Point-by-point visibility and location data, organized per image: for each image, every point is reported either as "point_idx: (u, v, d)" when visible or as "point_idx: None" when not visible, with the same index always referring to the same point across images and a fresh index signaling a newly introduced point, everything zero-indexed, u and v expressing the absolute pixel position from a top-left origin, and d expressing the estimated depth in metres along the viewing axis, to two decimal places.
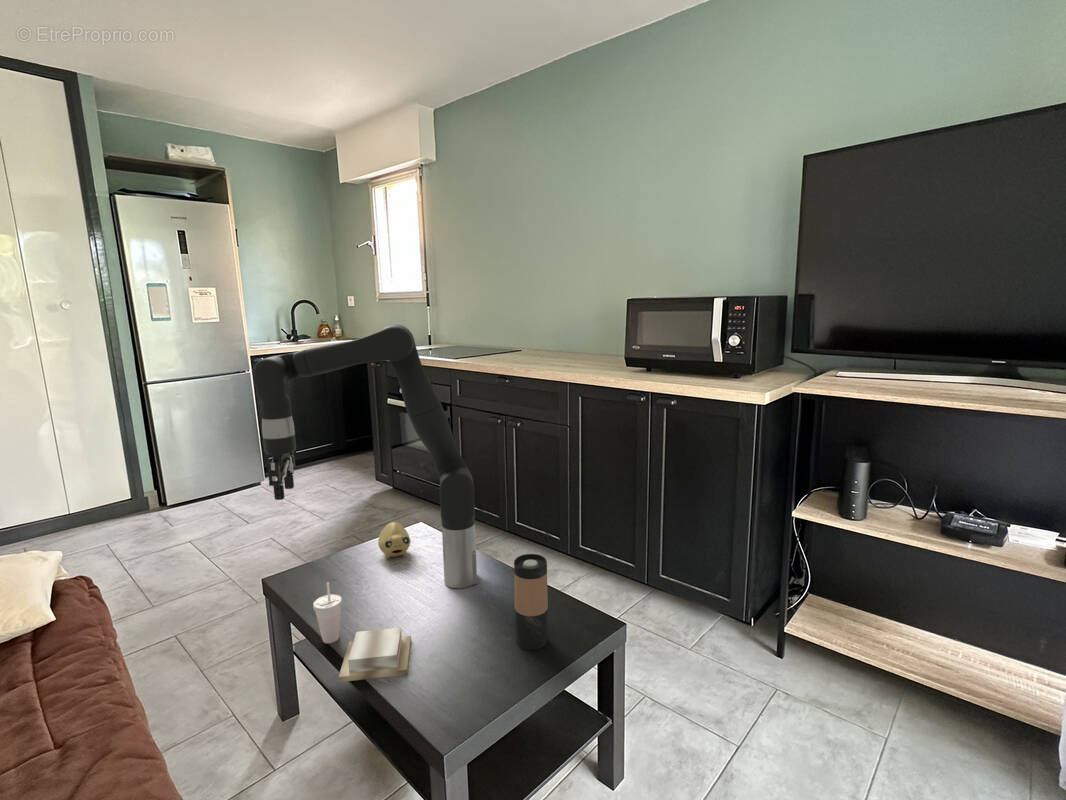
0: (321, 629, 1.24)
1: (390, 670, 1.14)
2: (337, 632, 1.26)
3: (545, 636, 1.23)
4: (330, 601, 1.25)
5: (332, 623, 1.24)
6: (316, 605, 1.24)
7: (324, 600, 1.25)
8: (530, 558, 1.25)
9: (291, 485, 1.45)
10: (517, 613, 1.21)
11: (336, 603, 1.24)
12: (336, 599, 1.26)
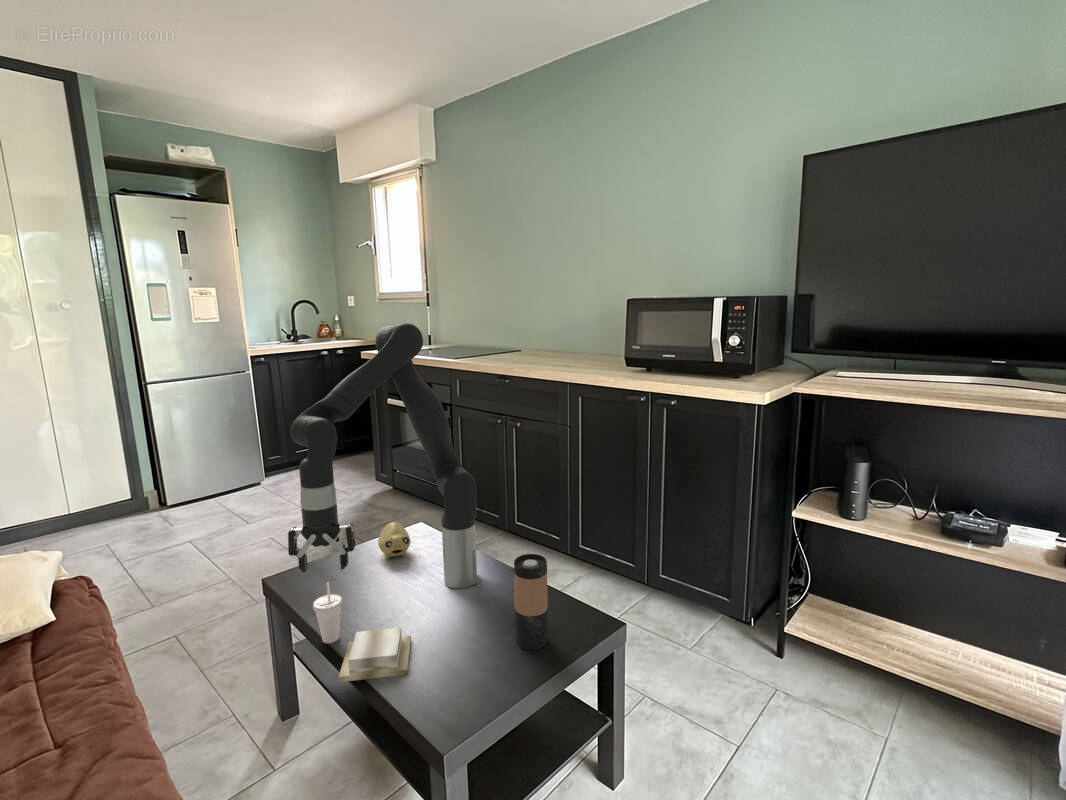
0: (321, 629, 1.24)
1: (390, 670, 1.14)
2: (337, 632, 1.26)
3: (545, 636, 1.23)
4: (330, 601, 1.25)
5: (332, 623, 1.24)
6: (316, 605, 1.24)
7: (324, 600, 1.25)
8: (530, 558, 1.25)
9: (307, 565, 1.24)
10: (517, 613, 1.21)
11: (336, 603, 1.24)
12: (336, 599, 1.26)
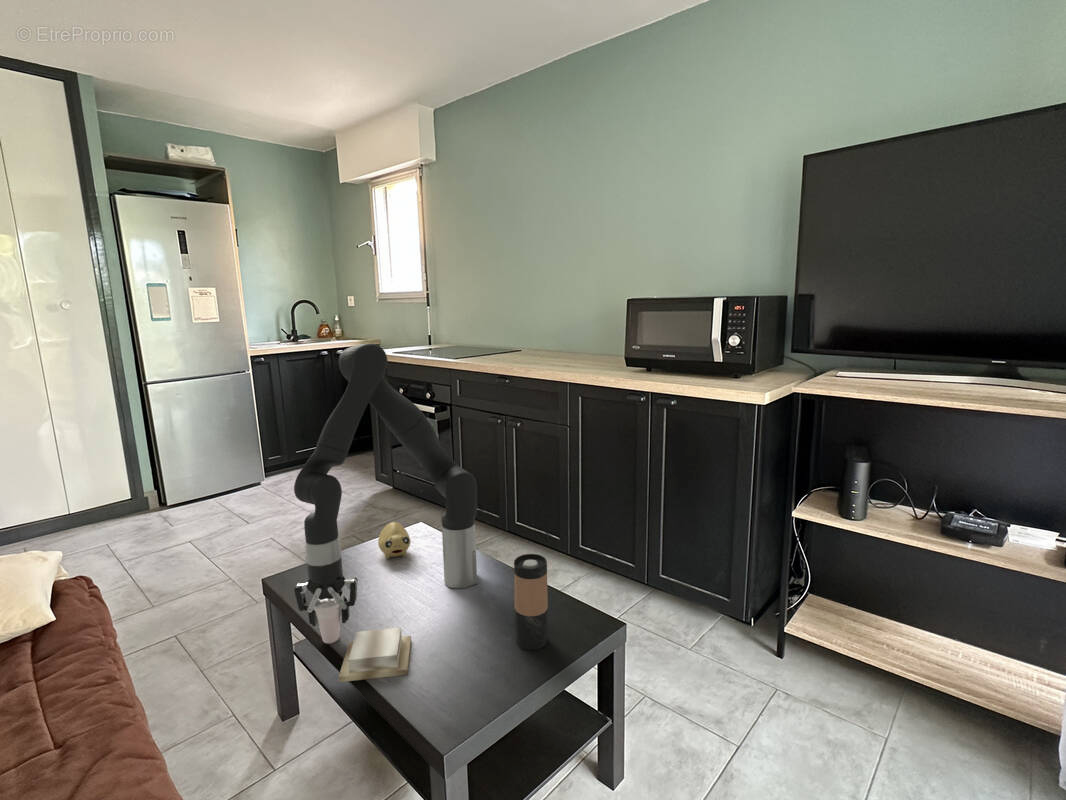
0: (321, 629, 1.24)
1: (390, 670, 1.14)
2: (337, 632, 1.26)
3: (545, 636, 1.23)
4: (330, 601, 1.25)
5: (332, 623, 1.24)
6: (316, 605, 1.24)
7: (324, 600, 1.25)
8: (530, 558, 1.25)
9: (316, 619, 1.26)
10: (517, 613, 1.21)
11: (336, 603, 1.24)
12: None
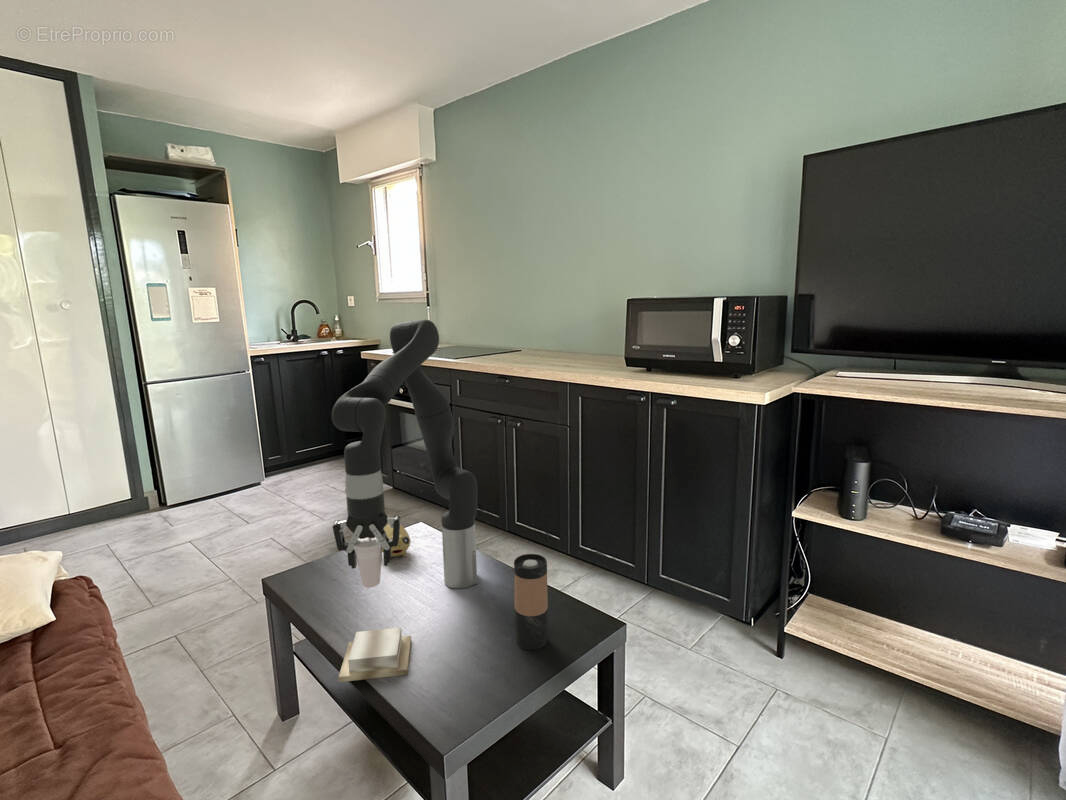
0: (361, 571, 1.13)
1: (390, 670, 1.14)
2: (378, 575, 1.15)
3: (545, 636, 1.23)
4: (371, 541, 1.14)
5: (374, 565, 1.13)
6: (356, 544, 1.12)
7: (364, 540, 1.14)
8: (530, 558, 1.25)
9: (356, 561, 1.15)
10: (517, 613, 1.21)
11: (378, 543, 1.13)
12: None
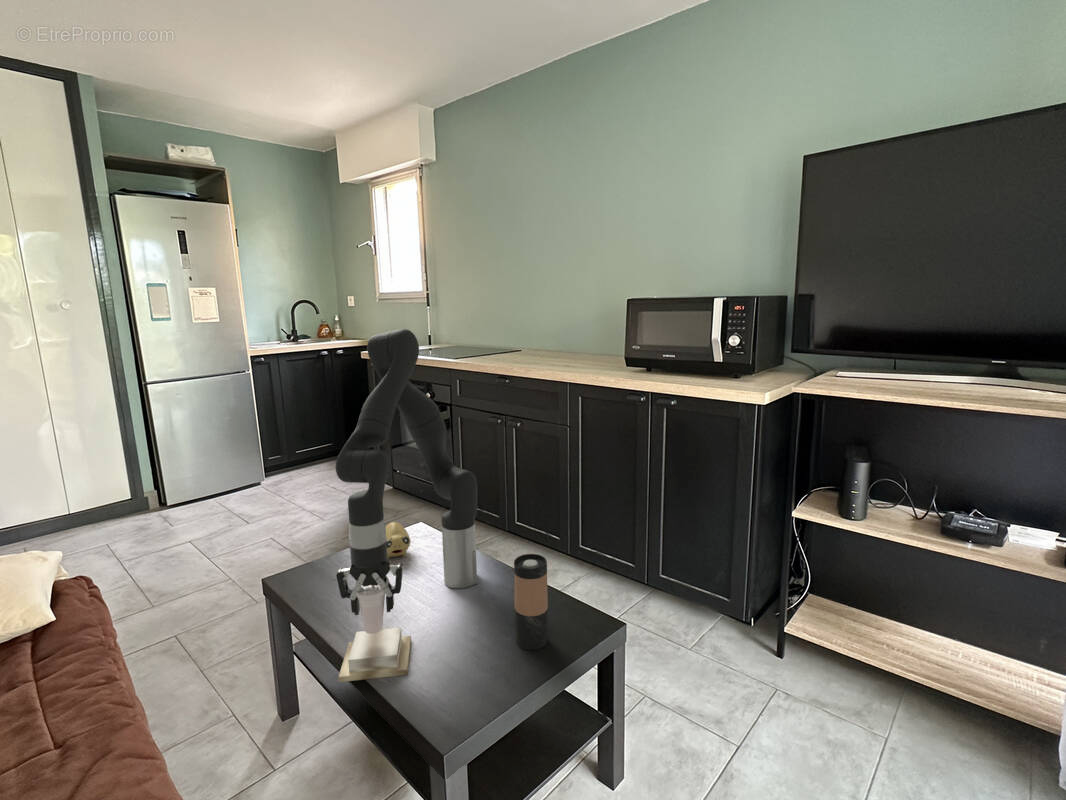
0: (364, 618, 1.15)
1: (390, 670, 1.14)
2: (381, 622, 1.17)
3: (545, 636, 1.23)
4: (374, 588, 1.16)
5: (376, 612, 1.15)
6: (359, 592, 1.14)
7: (367, 587, 1.16)
8: (530, 558, 1.25)
9: (359, 607, 1.17)
10: (517, 613, 1.21)
11: (381, 590, 1.15)
12: None
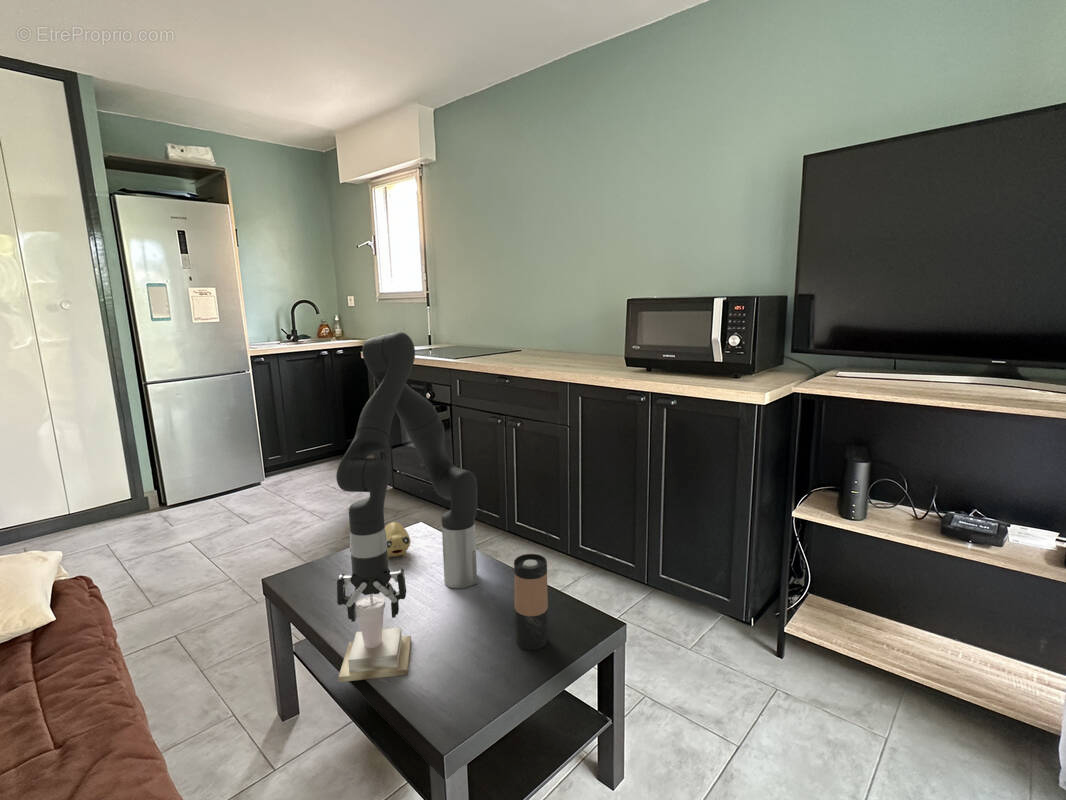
0: (363, 633, 1.16)
1: (390, 670, 1.14)
2: (380, 636, 1.17)
3: (545, 636, 1.23)
4: (373, 603, 1.16)
5: (375, 627, 1.15)
6: (358, 607, 1.15)
7: (366, 602, 1.17)
8: (530, 558, 1.25)
9: (355, 614, 1.17)
10: (517, 613, 1.21)
11: (379, 605, 1.16)
12: (379, 601, 1.17)
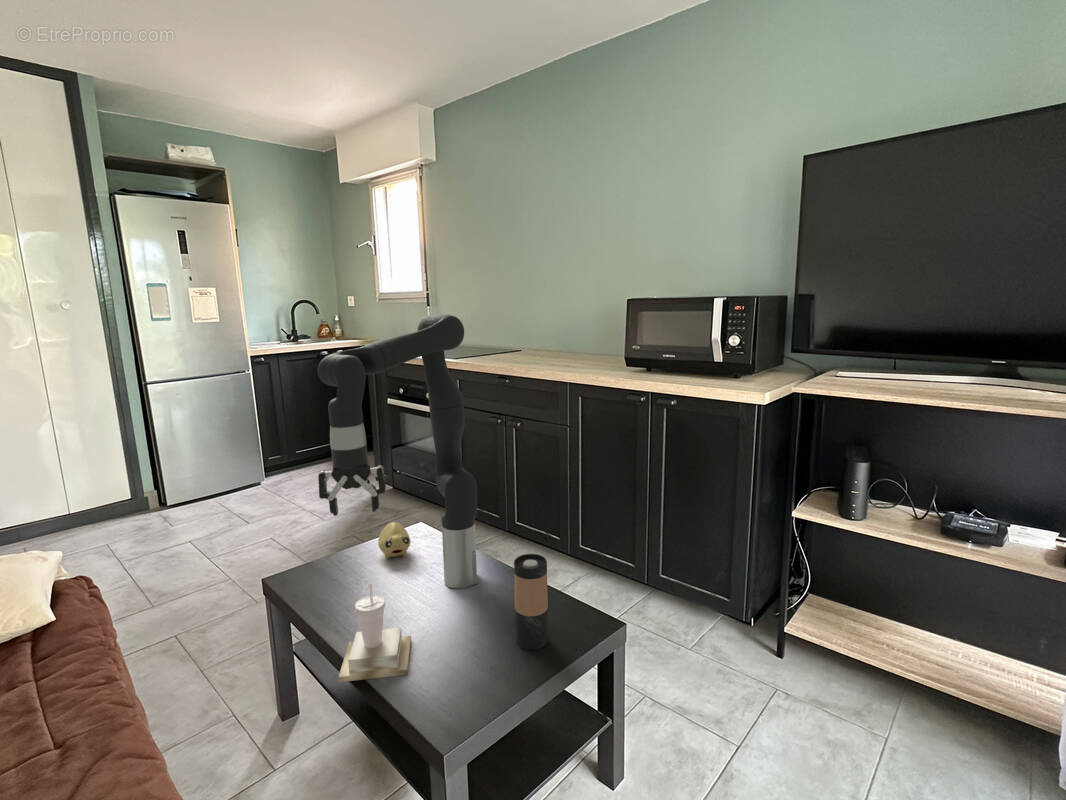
0: (363, 633, 1.16)
1: (390, 670, 1.14)
2: (380, 636, 1.17)
3: (545, 636, 1.23)
4: (373, 603, 1.16)
5: (375, 627, 1.15)
6: (358, 607, 1.15)
7: (366, 602, 1.17)
8: (530, 558, 1.25)
9: (337, 509, 1.22)
10: (517, 613, 1.21)
11: (379, 605, 1.16)
12: (379, 601, 1.17)
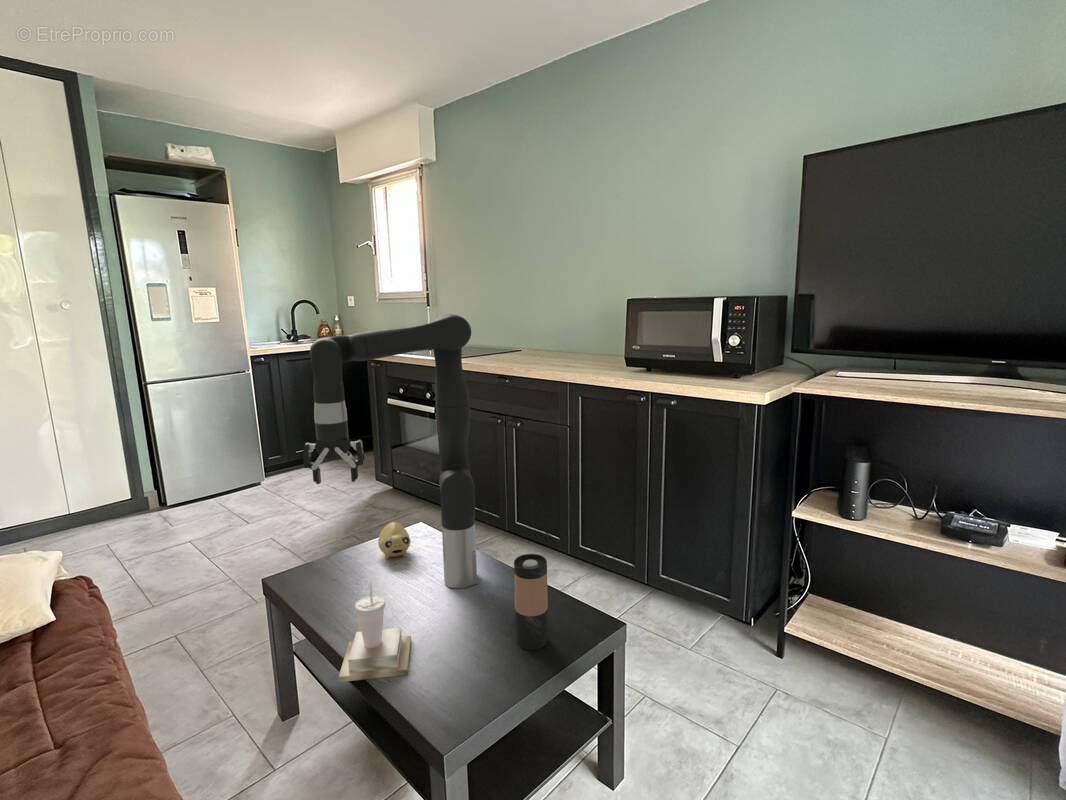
0: (363, 633, 1.16)
1: (390, 670, 1.14)
2: (380, 636, 1.17)
3: (545, 636, 1.23)
4: (373, 603, 1.16)
5: (375, 627, 1.15)
6: (358, 607, 1.15)
7: (366, 602, 1.17)
8: (530, 558, 1.25)
9: (320, 478, 1.35)
10: (517, 613, 1.21)
11: (379, 605, 1.16)
12: (379, 601, 1.17)
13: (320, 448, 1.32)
